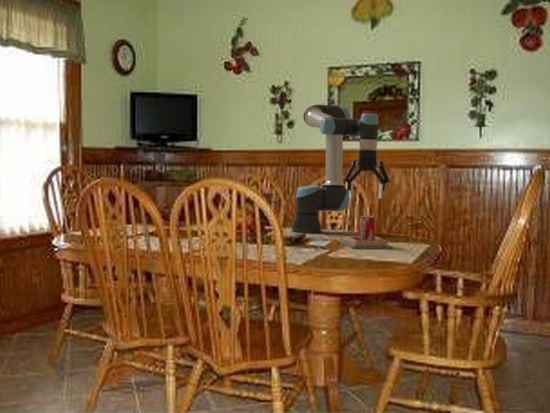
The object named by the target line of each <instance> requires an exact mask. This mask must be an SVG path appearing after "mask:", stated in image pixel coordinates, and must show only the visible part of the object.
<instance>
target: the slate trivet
mask: <svg viewBox="0 0 550 413" xmlns="http://www.w3.org/2000/svg"><path fill="white" fill-rule="evenodd" d="M339 242H341V243H340V244H342V245H344V246H346V247H348V248H349V249H352V250H393V249H394V246H392V245H389V244H388V243H389V242H388V240H385V239H382V238H380V237H378V236H375V239H374V241H359V239H358V236H357V235H356V236H352V235H349V236H348V235H346V236H345V237H344V239H339Z"/></svg>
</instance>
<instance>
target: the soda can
mask: <svg viewBox="0 0 550 413" xmlns="http://www.w3.org/2000/svg"><path fill="white" fill-rule="evenodd" d="M375 235H376V219H375V215H364V214H363V215H360V218H359V221H358V239H359V241H374V239H375V237H376V236H375Z"/></svg>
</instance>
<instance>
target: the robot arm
mask: <svg viewBox="0 0 550 413" xmlns="http://www.w3.org/2000/svg"><path fill="white" fill-rule="evenodd" d="M303 121H304V123H305V124H306V125H307V126H308V127H311V128H317V129H319V131H320V134H322V135H325V182H324V183H322V185H321V186H322V187H321V186H320V185H318V184H313V185H311V184H310V185H305V186H300V187H298V188H297V189H296V195H295V217H294V220H293V222H292V225H291V232H295V233H303V234H317V233H322V224H321V220H320V218H319V212H343V211H344V210H346V209H347V206H348V204H349V201H350V200H349V199H353V197H354V196H353V194H354V193H353V192H354V183H353V181H354V180H355V179H356V178H357V176H359V174H360V173H361V172H367V171H368V172H372V173H373V174H374V175H375V177H376V179H377V180H378V181H379V182H380V183H378V193H377V194H378V195H377V197H378V199H381V200H382V199H383V192H385V186H386V184H387V183H390V179H389V177H388V174H387V171H386V169H385V166H384V161H383V160H379V161H377V153H378V151H377V148H378V132H379V131H378V130H379V114H378V113H362V114H361V115H360V118H351V115H350V112H349V109H348V108H347V106H344V105H339V104H338V105H333V104H313V105H311V106H308V107H307V108H306V109H305V111H304V113H303ZM344 136H348V137H349V136H350V137H351V136H352V137H359V150H358V151H359V152H358V160H355V159H353V160H351V162H350V166H349V168H348V170H347V172H346V174H345V175H344V177H343V162H344V161H343V160H344V159H343V152H344V151H343V150H344V149H343V147H344V142H343V141H344V138H343V137H344ZM357 165H358V167H357V169H356V170H355V168H356V166H357ZM377 166H378V168H379V171H378V169H377V168H376V167H377ZM354 170H355V171H354ZM353 171H354V173H353ZM352 173H353V174H352ZM343 181H344V182H346V183H347V184H345V183H344V182H343ZM346 185H347V186H346Z"/></svg>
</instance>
